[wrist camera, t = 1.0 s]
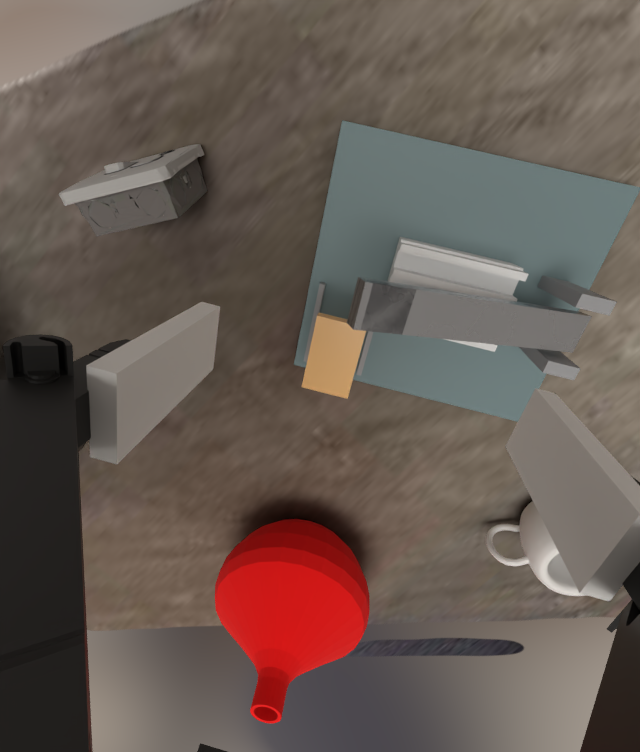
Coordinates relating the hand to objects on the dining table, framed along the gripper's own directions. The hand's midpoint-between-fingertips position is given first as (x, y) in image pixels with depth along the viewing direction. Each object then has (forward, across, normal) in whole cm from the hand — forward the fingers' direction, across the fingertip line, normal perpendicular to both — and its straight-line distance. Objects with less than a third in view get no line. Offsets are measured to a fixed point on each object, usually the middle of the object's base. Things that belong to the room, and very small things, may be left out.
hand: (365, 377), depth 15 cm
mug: (+25, +25, -22) cm, 42 cm away
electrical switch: (+25, -21, +3) cm, 32 cm away
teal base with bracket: (+24, +6, 0) cm, 25 cm away
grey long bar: (+14, +7, 0) cm, 16 cm away
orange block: (+23, -2, -6) cm, 24 cm away
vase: (+25, +1, -38) cm, 45 cm away
